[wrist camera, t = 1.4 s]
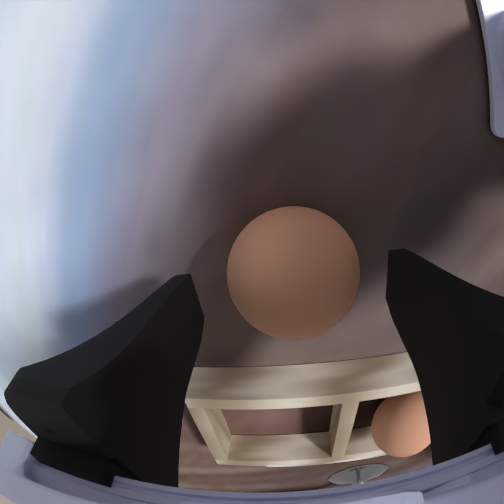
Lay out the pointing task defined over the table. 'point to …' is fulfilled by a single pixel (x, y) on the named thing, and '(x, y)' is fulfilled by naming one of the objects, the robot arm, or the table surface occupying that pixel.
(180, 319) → the robot arm
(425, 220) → the table surface
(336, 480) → the wine glass
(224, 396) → the rack
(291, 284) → the loose ball
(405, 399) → the ball
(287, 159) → the table surface
